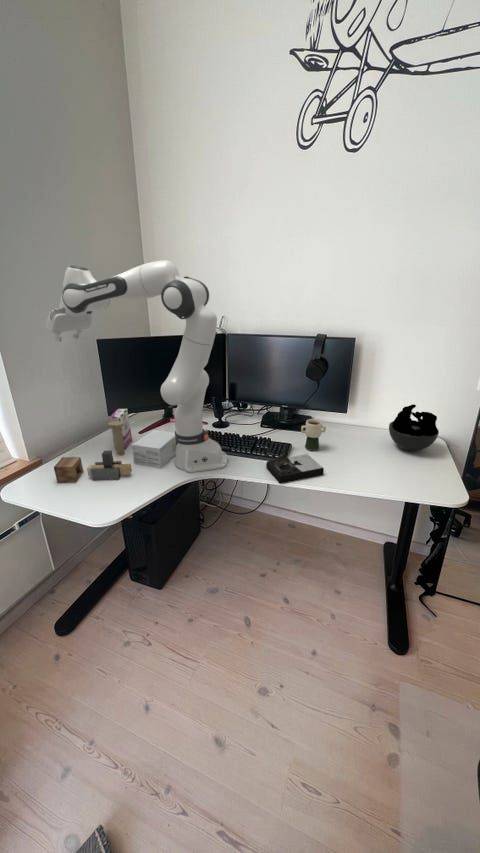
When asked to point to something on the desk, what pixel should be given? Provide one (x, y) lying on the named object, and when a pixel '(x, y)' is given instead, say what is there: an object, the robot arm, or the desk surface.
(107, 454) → the tan bar
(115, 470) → the sleeve channel
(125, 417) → the candy bar box
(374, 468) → the desk surface
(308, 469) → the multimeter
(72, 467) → the socket block
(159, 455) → the supplement box
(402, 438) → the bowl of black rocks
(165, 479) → the desk surface
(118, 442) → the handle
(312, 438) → the character mug
